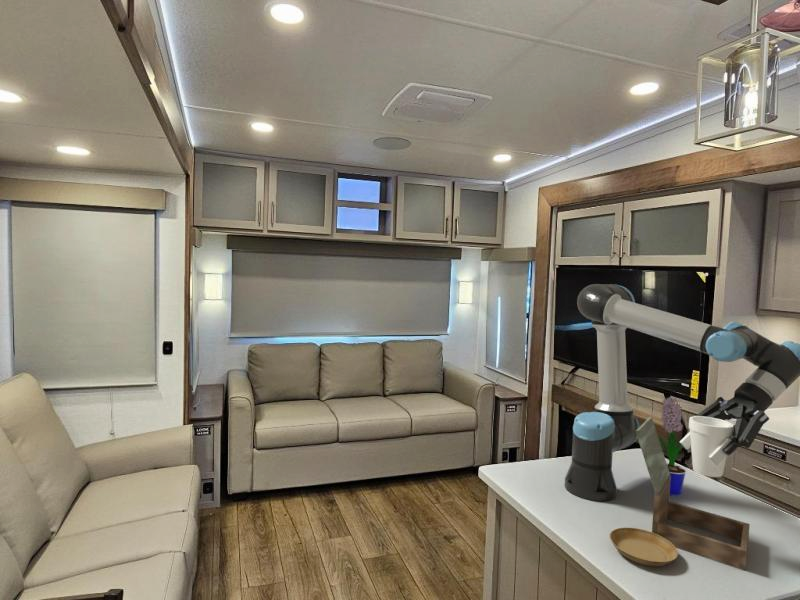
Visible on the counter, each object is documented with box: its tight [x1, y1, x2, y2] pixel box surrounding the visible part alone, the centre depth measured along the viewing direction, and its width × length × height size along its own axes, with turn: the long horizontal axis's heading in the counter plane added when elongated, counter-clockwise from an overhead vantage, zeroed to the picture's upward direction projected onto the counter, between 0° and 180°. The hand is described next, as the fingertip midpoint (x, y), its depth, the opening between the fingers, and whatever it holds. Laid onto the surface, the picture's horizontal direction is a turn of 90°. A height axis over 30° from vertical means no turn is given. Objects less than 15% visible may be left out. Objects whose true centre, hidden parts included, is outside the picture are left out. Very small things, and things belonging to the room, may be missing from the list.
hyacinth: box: [658, 396, 687, 496], centre depth 150 cm, size 9×10×30 cm
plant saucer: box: [609, 526, 679, 567], centre depth 115 cm, size 15×15×3 cm
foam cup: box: [688, 415, 734, 478], centre depth 120 cm, size 10×9×13 cm
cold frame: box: [636, 416, 750, 571], centre depth 122 cm, size 25×16×27 cm, turn 52°
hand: (697, 453), depth 120 cm, fingers closed on foam cup, 9 cm apart
